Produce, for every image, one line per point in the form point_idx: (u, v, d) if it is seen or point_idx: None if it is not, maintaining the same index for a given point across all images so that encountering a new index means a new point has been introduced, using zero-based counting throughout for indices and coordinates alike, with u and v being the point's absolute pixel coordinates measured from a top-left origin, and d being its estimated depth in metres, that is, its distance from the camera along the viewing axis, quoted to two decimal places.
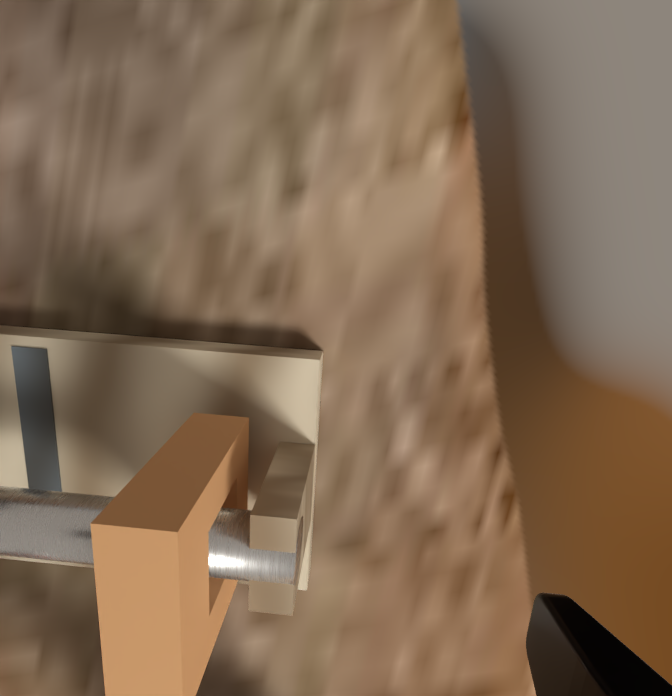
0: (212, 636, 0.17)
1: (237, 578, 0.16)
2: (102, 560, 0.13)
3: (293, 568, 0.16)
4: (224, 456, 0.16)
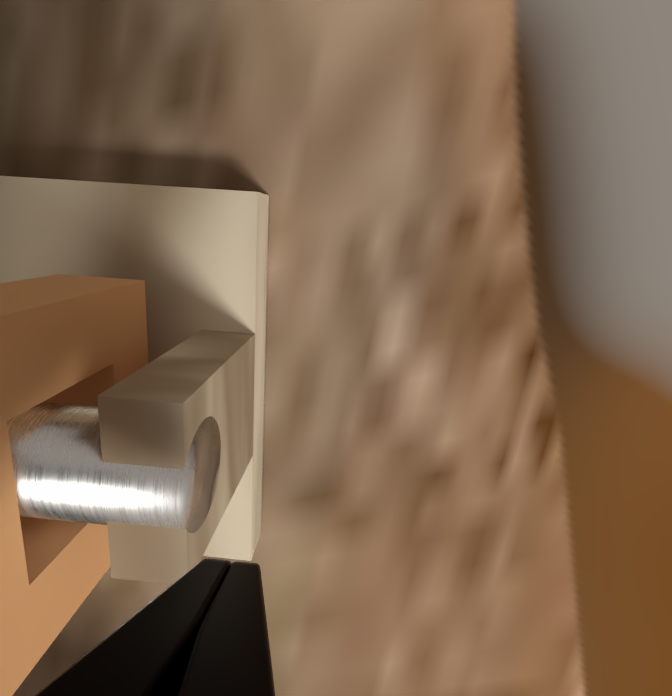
0: (46, 622, 0.09)
1: (85, 518, 0.09)
2: None
3: (181, 498, 0.09)
4: (63, 300, 0.09)
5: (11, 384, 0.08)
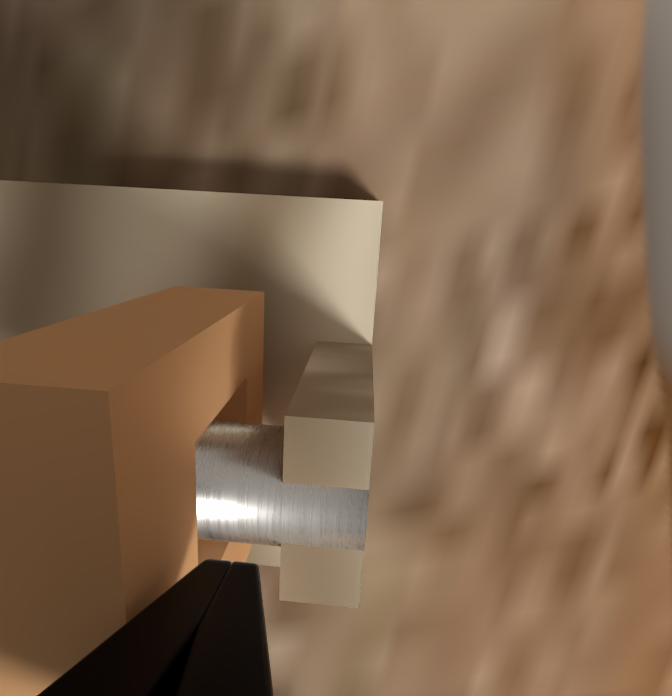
0: None
1: (259, 540, 0.09)
2: None
3: (365, 519, 0.08)
4: (225, 316, 0.09)
5: (198, 404, 0.08)
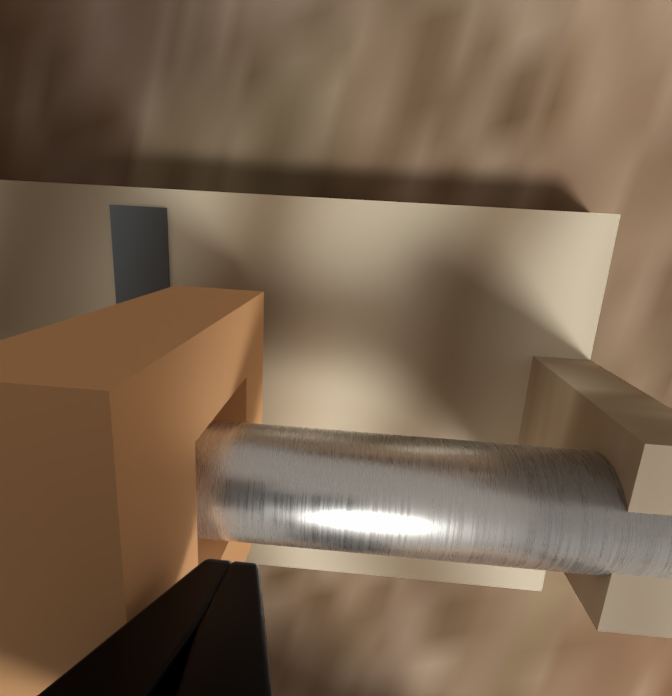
0: None
1: (591, 570, 0.09)
2: None
3: None
4: (225, 316, 0.09)
5: (198, 404, 0.08)
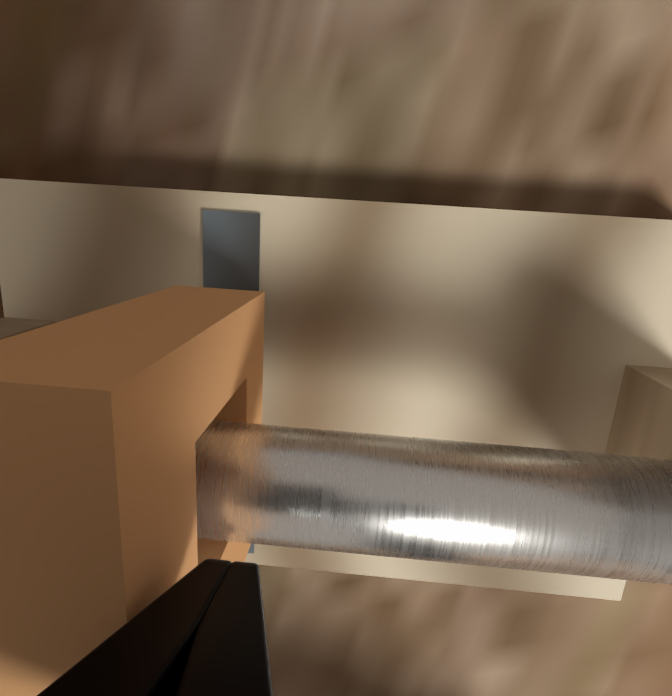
0: None
1: None
2: None
3: None
4: (226, 316, 0.09)
5: (198, 404, 0.08)
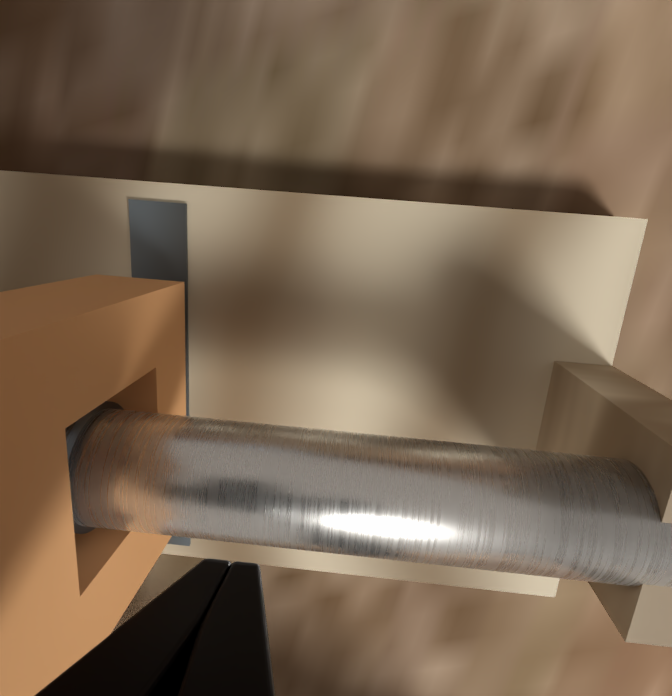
0: (93, 633, 0.09)
1: (621, 580, 0.08)
2: None
3: None
4: (115, 303, 0.09)
5: (69, 390, 0.08)
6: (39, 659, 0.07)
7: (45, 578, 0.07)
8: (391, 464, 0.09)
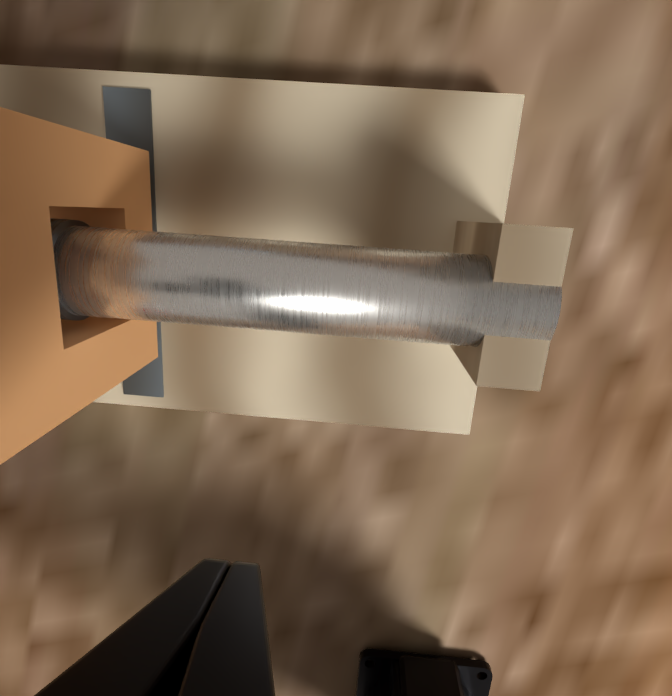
0: (76, 390, 0.12)
1: (468, 332, 0.11)
2: None
3: (557, 309, 0.11)
4: (87, 133, 0.12)
5: (51, 179, 0.10)
6: (33, 371, 0.10)
7: (36, 311, 0.10)
8: (297, 250, 0.11)
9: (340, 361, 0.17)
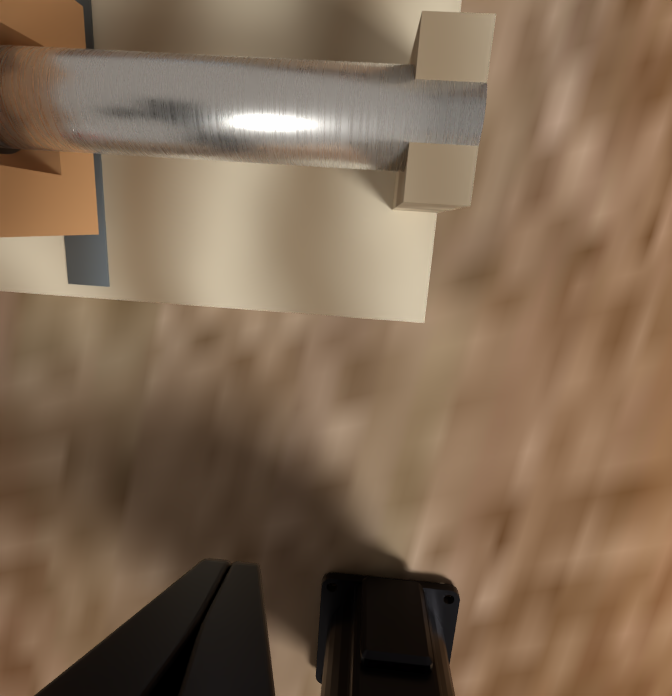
0: None
1: (392, 138, 0.11)
2: None
3: (483, 107, 0.10)
4: None
5: None
6: None
7: None
8: (213, 57, 0.11)
9: (289, 243, 0.17)
